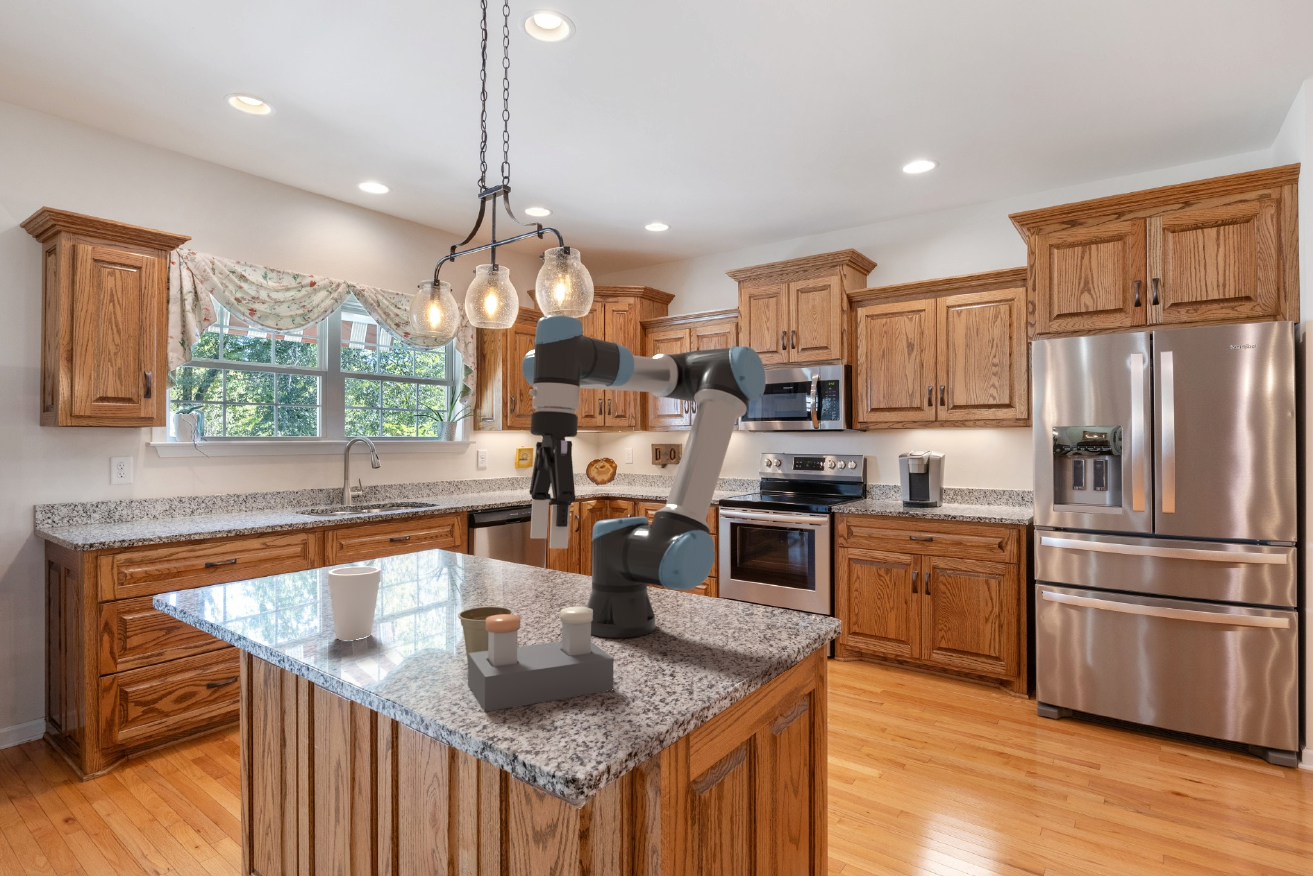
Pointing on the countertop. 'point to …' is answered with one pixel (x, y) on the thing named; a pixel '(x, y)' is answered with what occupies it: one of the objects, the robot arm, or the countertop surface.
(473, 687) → the block
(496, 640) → the terracotta plunger
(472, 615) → the flower pot
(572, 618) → the cream plunger
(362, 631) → the foam cup
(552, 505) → the robot arm
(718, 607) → the countertop surface
